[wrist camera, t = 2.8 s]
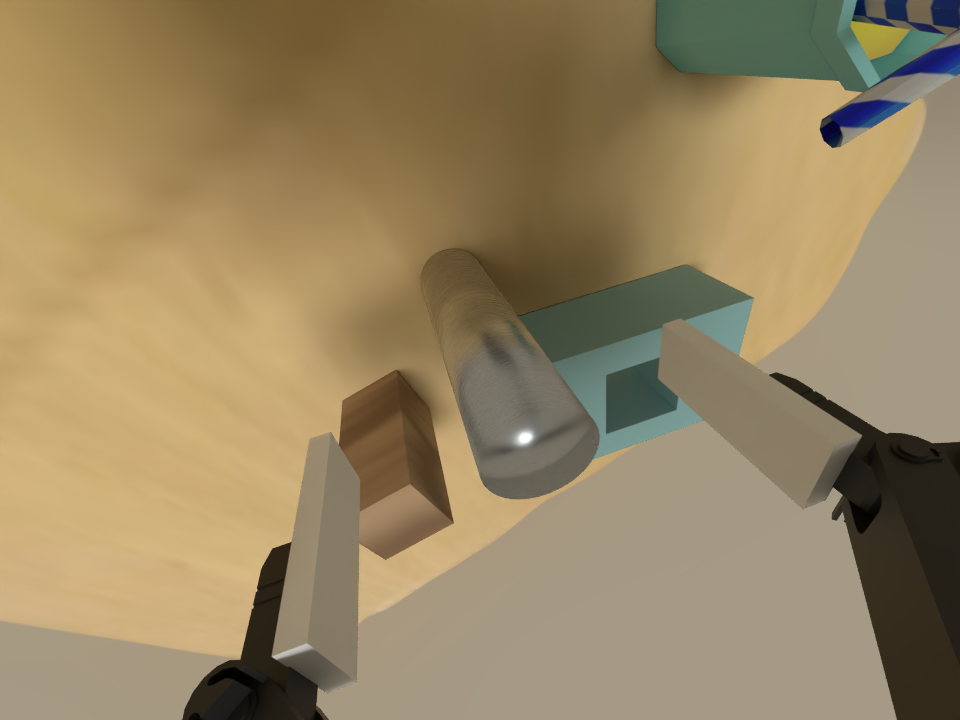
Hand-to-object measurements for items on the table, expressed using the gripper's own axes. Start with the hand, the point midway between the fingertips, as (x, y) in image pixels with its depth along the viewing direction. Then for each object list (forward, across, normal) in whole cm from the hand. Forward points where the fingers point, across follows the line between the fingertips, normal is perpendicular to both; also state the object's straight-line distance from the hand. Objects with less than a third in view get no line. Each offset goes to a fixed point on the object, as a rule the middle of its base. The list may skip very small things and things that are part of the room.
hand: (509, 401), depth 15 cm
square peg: (+12, -7, -8) cm, 16 cm away
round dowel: (+12, 0, 0) cm, 12 cm away
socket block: (+12, +10, -8) cm, 18 cm away
